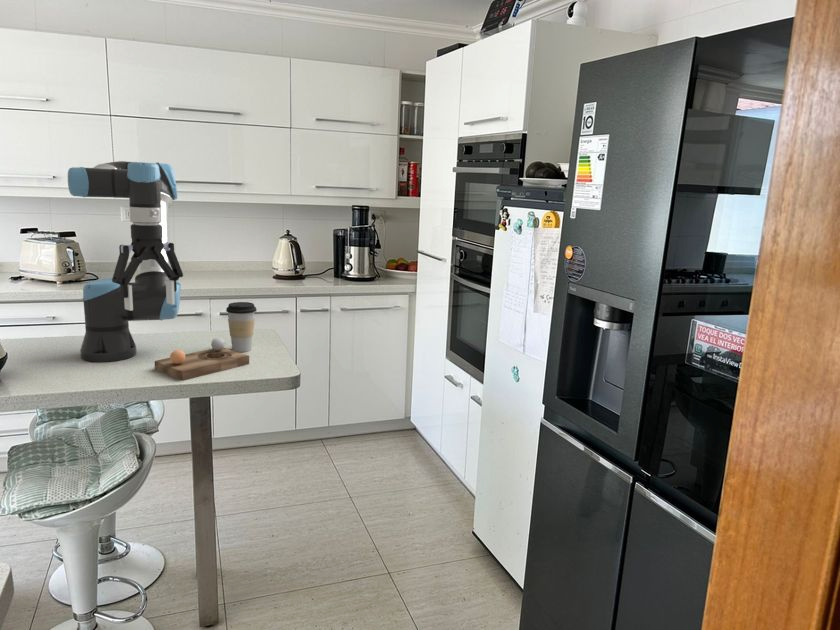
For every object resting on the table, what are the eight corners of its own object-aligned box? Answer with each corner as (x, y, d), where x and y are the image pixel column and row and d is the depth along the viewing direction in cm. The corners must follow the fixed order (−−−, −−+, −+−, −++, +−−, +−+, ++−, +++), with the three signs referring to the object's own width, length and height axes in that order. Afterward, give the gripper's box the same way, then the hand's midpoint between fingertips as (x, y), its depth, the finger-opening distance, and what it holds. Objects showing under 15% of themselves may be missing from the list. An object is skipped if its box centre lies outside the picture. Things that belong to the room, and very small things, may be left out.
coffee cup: (226, 354, 192) (225, 307, 189) (227, 346, 201) (226, 301, 198) (257, 353, 195) (256, 307, 192) (256, 345, 204) (256, 301, 201)
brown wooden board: (154, 369, 175) (154, 360, 174) (220, 354, 192) (220, 346, 191) (182, 380, 166) (182, 371, 166) (249, 363, 184) (249, 355, 183)
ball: (167, 363, 172) (166, 350, 171) (180, 361, 175) (179, 347, 174) (175, 366, 170) (175, 352, 169) (188, 363, 173) (188, 350, 172)
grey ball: (208, 350, 187) (208, 337, 186) (220, 347, 190) (219, 335, 189) (216, 352, 184) (216, 340, 184) (227, 350, 188) (227, 337, 187)
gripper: (108, 226, 147) (113, 315, 151) (195, 223, 165) (197, 303, 170) (92, 223, 151) (98, 310, 156) (179, 221, 170) (182, 299, 174)
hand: (150, 306), depth 163 cm, fingers open, 11 cm apart
